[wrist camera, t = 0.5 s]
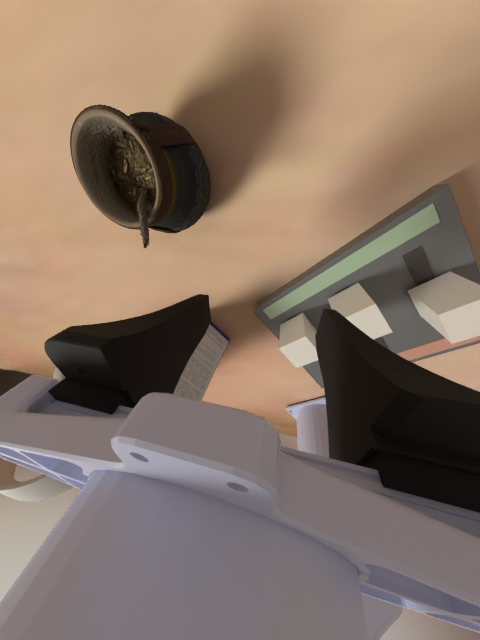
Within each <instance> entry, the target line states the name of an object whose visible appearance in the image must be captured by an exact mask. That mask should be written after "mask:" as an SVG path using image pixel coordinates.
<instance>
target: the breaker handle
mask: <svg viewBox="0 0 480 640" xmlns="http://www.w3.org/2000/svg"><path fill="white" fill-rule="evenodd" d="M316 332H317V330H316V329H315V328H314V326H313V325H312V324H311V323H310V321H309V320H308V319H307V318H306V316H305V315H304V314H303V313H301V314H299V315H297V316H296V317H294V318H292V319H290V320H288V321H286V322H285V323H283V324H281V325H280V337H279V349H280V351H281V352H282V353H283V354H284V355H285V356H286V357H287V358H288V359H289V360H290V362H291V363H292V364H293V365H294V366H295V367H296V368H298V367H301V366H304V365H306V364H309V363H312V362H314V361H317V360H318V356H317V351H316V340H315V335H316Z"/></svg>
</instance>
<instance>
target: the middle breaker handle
mask: <svg viewBox="0 0 480 640" xmlns="http://www.w3.org/2000/svg"><path fill="white" fill-rule="evenodd" d="M328 301H329V304H330V306H331V309H333V310H336V311H338V312H339V313H340V314H341V315H343V316H344V317H345V318H346V319H347V320H349V321H350V322H351V323H352V324H353V325H355V326H356V327H357V328H358V329H360V330H361V331H362V332H364V333H365V334H366V335H368V336H369V337H370V338H372V339H376V338H379V337H381V336H384V335H387V334H389V333H392V330H391V328H390V327H389V325H388V323H387V322H386V320H385V318H384V317H383V315H382V314H381V312H380V310H379V309H378V307H377V305H376V304H375V302H374V301H373V300H372V299H371V298H370V296H369V295H368V294H367V293H366V292H365V290H364V289H363V288H362V287H361V285H360V284H359V283H356V284H355V285H353V286H351V287H349V288H347V289H345V290H344V291H342V292H340V293H338V294H336V295H334V296H332V297H331V298H329V299H328Z"/></svg>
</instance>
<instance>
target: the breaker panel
mask: <svg viewBox="0 0 480 640" xmlns="http://www.w3.org/2000/svg"><path fill="white" fill-rule="evenodd" d="M448 272H452V273H455V274H457V275H459V276H461V277H464V278H466V279H468V280H470V281H473V282H475V283H477V284H479V285H480V273H479V270H478V267H477V264H476V261H475V258H474V255H473V253H472V250H471V247H470V244H469V241H468V238H467V235H466V233H465V230H464V227H463V224H462V221H461V218H460V215H459V213H458V210H457V207H456V204H455V201H454V198H453V195H452V193H451V190H450V187H449V184H447V185H437V186H433V187H431V188H430V189H428V190H427V191H425V192H424V193H422V194H421V195H419V196H418V197H416V198H415V199H413V200H412V201H410V202H409V203H407V204H406V205H404V206H403V207H401V208H400V209H398V210H397V211H395V212H394V213H392V214H391V215H389V216H388V217H386V218H385V219H383V220H382V221H380V222H379V223H377V224H376V225H374V226H373V227H371V228H370V229H368V230H367V231H365V232H364V233H362V234H361V235H359V236H358V237H356V238H355V239H353V240H352V241H350V242H349V243H347V244H346V245H344V246H343V247H341V248H340V249H338V250H337V251H335V252H334V253H332V254H331V255H329V256H328V257H326V258H325V259H323V260H322V261H320V262H319V263H317V264H316V265H314V266H313V267H311V268H310V269H308V270H307V271H305V272H304V273H302V274H301V275H299V276H298V277H296V278H295V279H293V280H292V281H290V282H289V283H287V284H286V285H284V286H283V287H281V288H280V289H278V290H277V291H275V292H274V293H272V294H271V295H269V296H268V297H266V298H265V299H263V300H262V301H260V302H259V303H257V304H256V305H255V307H254V310H253V311H254V312H255V313H256V315H257V316H258V317H259V318H260V319H261V320H262V321H263V322H264V324H265V325H266V326H267V327H268V328H269V329H270V330H271V331H272V333H273V334H274V335H275V336H276V337H277V338H278V339H279V337H280V325H281V324H283V323H285V322H286V321H288V320H290V319H292V318H294V317H296V316H297V315H299V314H301V313H303V314H304V315H305V316H306V318H307V319H308V320H309V321H310V323H311V324H312V325H313V326H314V328H315V329H316V330H317V329H318V325H319V322H320V319H321V316H322V313H323V310H324V309H331V306H330V304H329V301H328V299H329V298H331V297H332V296H334V295H336V294H338V293H340V292H342V291H344V290H345V289H347V288H349V287H351V286H353V285H355V284H356V283H359V284H360V285H361V287H362V288H363V289H364V290H365V292H366V293H367V294H368V295H369V296H370V298H371V299H372V300H373V301H374V302H375V304H376V305H377V307H378V309H379V310H380V312H381V314H382V315H383V317H384V318H385V320H386V322H387V323H388V325H389V327H390V328H391V330H392V333H389V334H387V335H384V336H381V337H379V338H376V339H373V340H375V341H376V342H378V343H379V344H381V345H382V346H384V347H386V348H387V349H389V350H390V351H392V352H394V353H395V354H397V355H399V356H401V357H403V358H405V359H406V360H408V361H410V362H415V361H418V360H422V359H425V358H429V357H432V356H436V355H439V354H443V353H446V352H450V351H453V350H457V349H460V348H464V347H467V346H471V345H474V344H478V343H480V336H477V337H474V338H470V339H467V340H464V341H460V342H457V343H454V344H452V343H450V342H449V341H448V340H447V339H446V338H445V337H444V336H443V335H441V334H440V333H439V332H438V331H437V330H436V329H435V328H434V327H432V326H431V325H430V324H429V323H428V322H427V321H426V320H425V319H423V318H422V317H421V316H420V314H419V313H418V311H417V309H416V307H415V305H414V303H413V301H412V299H411V297H410V295H409V293H408V290H410V289H413V288H415V287H417V286H419V285H421V284H424V283H426V282H428V281H430V280H432V279H434V278H437V277H439V276H441V275H443V274H445V273H448ZM303 367H304V368H305V370H306V371H307V372H308V373H309V374H310V375H311V376H312V377H313V379H314V380H315V381H316V382H317V383H318V384H319V385H320V386H321V388H324V384H323V379H322V374H321V370H320V365H319V361H318V360H317V361H314V362H312V363H309V364H306V365H304V366H303Z"/></svg>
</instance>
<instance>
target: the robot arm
mask: <svg viewBox="0 0 480 640" xmlns="http://www.w3.org/2000/svg"><path fill="white" fill-rule="evenodd" d="M210 322H211V317H210V307H209V296H208V295H202V294H199V295H196V296H193V297H191V298H188V299H186V300H184V301H181V302H179V303H177V304H174V305H172V306H169V307H167V308H164V309H162V310H159V311H156V312H153V313H150V314H146V315H143V316H139V317H134V318H130V319H125V320H120V321H115V322H108V323H101V324H92V325H81V326H71V327H69V328H67V329H65V330H63V331H61V332H60V333H58V334H56V335H55V336H53V337H51V338H49V339H48V340H47V341H46V342H45V351H46V354H47V355H48V357H49V358H50V359H51V361H52V362H53V363H54V364H55V366H56V367H57V368H58V369H59V370H60V372H61V373H62V374H63V375H64V377H65V378H64V379H63V380H62V381H60V382H59V383H58V382H57V381H55V380H53V379H50V378H46V377H42V376H38V375H31V376H30V377H28V378H27V379H25V380H24V381H23V382H21V383H20V384H18V385H17V386H15V387H14V388H12V389H11V390H9V391H8V392H6V393H5V394H3V395H2V396H1V397H0V457H1V458H3V459H5V460H8V461H10V462H13V463H16V464H18V465H21V466H24V467H26V468H29V469H32V470H34V471H37V472H39V473H42V474H44V475H46V476H49V477H51V478H54V479H56V480H59V481H61V482H64V483H66V484H68V485H71V486H73V487H76V488H78V489H81V491H80V492H79V493H78V495H77V496H76V497H75V499H74V500H73V502H72V503H71V504H70V506H69V507H68V509H67V510H66V511H65V513H64V514H63V516H62V517H61V519H60V520H59V521H58V523H57V524H56V525H55V527H54V528H53V530H52V531H51V532H50V534H49V535H48V537H47V538H46V540H45V541H44V542H43V544H42V545H41V546H40V548H39V549H38V551H37V552H36V553H35V555H34V556H33V558H32V559H31V560H30V562H29V563H28V565H27V566H26V567H25V569H24V570H23V572H22V573H21V574H20V576H19V577H18V579H17V580H16V581H15V583H14V584H13V586H12V587H11V588H10V590H9V591H8V593H7V594H6V595H5V597H4V598H3V600H2V601H1V602H0V640H379V639H380V638H381V636H382V635H383V634H384V633H385V632H386V631H387V630H388V628H389V627H390V626H391V625H392V624H393V623H394V622H395V621H396V620H397V619H398V617H399V616H400V614H401V613H402V607H404V608H406V609H410V610H412V611H415V612H419V613H422V614H425V615H428V616H431V617H434V618H437V619H440V620H443V621H446V622H449V623H452V624H455V625H458V626H461V627H464V628H467V629H470V630H472V631H475V632H478V633H480V392H478V391H476V390H473V389H470V388H468V387H465V386H463V385H460V384H458V383H455V382H453V381H451V380H448V379H446V378H444V377H442V376H439V375H437V374H435V373H433V372H430V371H428V370H426V369H424V368H422V367H420V366H418V365H416V364H414V363H412V362H410V361H408V360H406V359H405V358H403V357H401V356H399V355H397V354H395V353H394V352H392V351H390V350H389V349H387V348H386V347H384V346H382V345H381V344H379V343H378V342H376V341H375V340H373V339H372V338H370V337H369V336H368V335H366V334H365V333H364V332H362V331H361V330H360V329H358V328H357V327H356V326H355V325H353V324H352V323H351V322H350V321H349V320H347V319H346V318H345V317H344V316H343V315H341V314H340V313H339V312H338V311H336V310H333V309H324V310H323V313H322V316H321V319H320V322H319V325H318V329H317V332H316V335H315V340H316V351H317V356H318V361H319V365H320V370H321V374H322V379H323V384H324V390H325V397H322V398H318V399H314V400H311V401H307V402H303V403H299V404H295V405H291V406H287V407H286V410H287V411H288V412H289V413H290V414H291V415H292V416H293V417H294V418H295V419H296V420H297V442H298V450H295V449H291V448H287V447H283V446H280V437H279V433H278V430H277V429H276V428H275V427H274V426H273V425H271V424H270V423H269V422H268V421H267V420H265V419H264V418H263V417H260V416H258V415H255V414H253V413H250V412H247V411H244V410H240V409H235V408H231V407H226V406H222V405H218V404H213V403H209V402H204V401H200V400H196V399H191V398H187V397H182V396H178V395H173V393H174V391H175V388H176V386H177V384H178V382H179V379H180V377H181V375H182V373H183V371H184V369H185V367H186V365H187V363H188V361H189V359H190V357H191V356H192V354H193V352H194V351H195V349H196V348H197V346H198V345H199V343H200V341H201V340H202V338H203V337H204V335H205V333H206V331H207V329H208V327H209V324H210Z"/></svg>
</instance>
